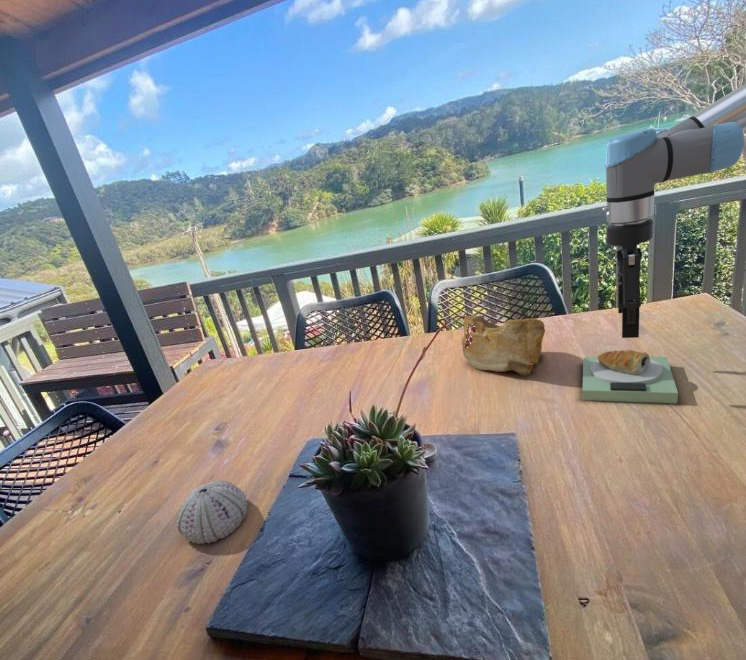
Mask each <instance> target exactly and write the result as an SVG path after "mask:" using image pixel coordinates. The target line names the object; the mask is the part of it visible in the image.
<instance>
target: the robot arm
mask: <svg viewBox="0 0 746 660" xmlns="http://www.w3.org/2000/svg"><path fill="white" fill-rule="evenodd" d="M744 131H746V83H744V84H743V85H740V86H739V87H737V88H735V89H733V90H732V91H731V92H729V93H728V94H726V95H723V96H722V97H720V98H719V99H717V100H715V101H713V102H712V103H711V104H709V105H707V106H705V107H704V108H702V109H700V110H698V111H697V112H695V113H693V114H692V115H690V117H687V118H686V119H684V120H682V121H680V122H678V123H677V124H675V125H673V126H672V127H670V128H669V129H663V130H660V131H658V132H657V130H656V129H655V128H652V127H651V128H646V129H641V130H636V131H632V132H626V133H622V134H620V135H616V136H613V137H612V138H610V140H609V141H608V142H607V144H606V157H605V164H604V168H605V183H606V184H605V190H606V191H605V193H606V206H604V207H603V208H602V212H603V213H606V223H608V224H607V225H606V229H605V232H606V233H605V234H606V235H605V236H606V238H605V240H606V244H607V245H609V246H613V247H619V250H616V261H617V267H618V273H617V277H618V279H617V282H618V285H617V287H618V289H617V290H618V291H617V292H618V294H617V295H618V296H617V297H618V298H617V299H618V300H617V301H618V304H617V307H618V308H617V314H621V338H622V339H632V338H633V339H634V338H639V337H640V307H641V306H642V302H641V272H642V271H641V270H642V265H641V264H642V262H641V261H642V258H643V253H642V251H641V247H638V245H640V244H644V243H646V242H649V241H651V240H652V239H653V237H654V220H653V218H652V217H654V215H655V196H656V195H655V186H656V184H659V183H664V182H667V181H668V182H669V181H673V180H678V179H684V178H689V177H695V176H700V175H704V174H713V173H715V172H717V171H718V172H719V171H723V170H727V169H729V168H732V167H733V166H735V165H736V164H737V163H738V161H739V160H740V159H741V156H742V154H743V150H744V145H745V135H744Z"/></svg>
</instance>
